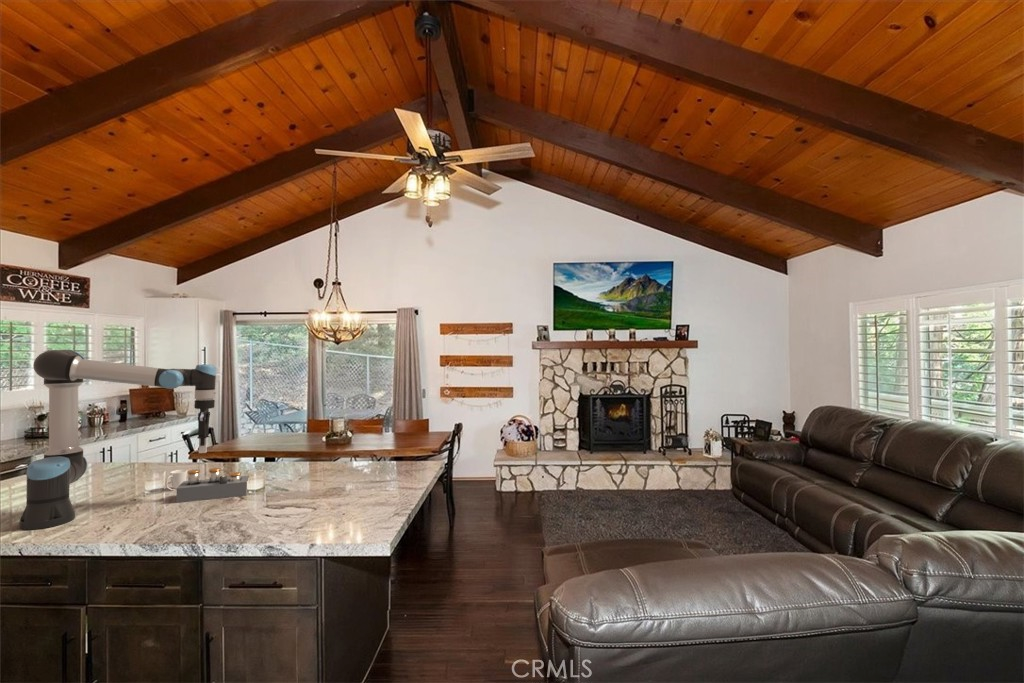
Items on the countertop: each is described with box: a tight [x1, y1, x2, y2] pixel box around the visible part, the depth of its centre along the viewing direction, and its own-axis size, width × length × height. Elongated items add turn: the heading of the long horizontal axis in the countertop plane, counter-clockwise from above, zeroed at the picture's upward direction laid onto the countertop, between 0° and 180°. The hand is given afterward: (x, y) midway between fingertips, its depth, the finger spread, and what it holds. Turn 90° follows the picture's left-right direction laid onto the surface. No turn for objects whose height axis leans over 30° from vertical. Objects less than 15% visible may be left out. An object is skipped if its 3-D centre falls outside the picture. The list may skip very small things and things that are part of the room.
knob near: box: [187, 469, 201, 485], centre depth 212 cm, size 5×5×7 cm
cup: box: [164, 469, 189, 491], centre depth 224 cm, size 7×10×8 cm
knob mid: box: [208, 467, 222, 484], centre depth 215 cm, size 5×5×7 cm
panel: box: [176, 475, 250, 503], centre depth 215 cm, size 26×12×6 cm, turn 113°
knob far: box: [229, 471, 242, 482], centre depth 218 cm, size 5×5×7 cm
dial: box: [220, 475, 228, 484], centre depth 212 cm, size 3×3×3 cm
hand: (202, 452), depth 213 cm, fingers closed
